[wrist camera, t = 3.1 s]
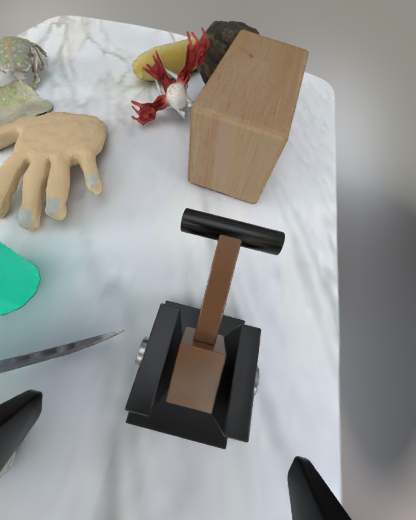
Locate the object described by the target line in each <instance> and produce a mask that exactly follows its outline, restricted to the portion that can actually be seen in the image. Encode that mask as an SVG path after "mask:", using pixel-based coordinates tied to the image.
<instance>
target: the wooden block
mask: <svg viewBox="0 0 416 520" xmlns="http://www.w3.org/2000/svg"><path fill="white" fill-rule="evenodd" d="M308 53H309V52H308V51H307V50H305V49H302V48H299V47H296V46H293V45H290V44H286V43H283V42H280V41H277V40H273V39H271V38H268V37H264V36H261V35H258V34H255V33H252V32H249V31H246V30H240V32H239V33H238V35H237V36H236V38H235V40H234V41H233V43H232V44H231V46H230V47H229V49H228V50H227V52H226V54H225V55H224V57H223V58H222V60H221V61H220V63H219V65H218V66H217V68H216V69H215V71H214V72H213V74H212V75H211V77H210V79H209V80H208V82H207V83H206V85H205V86H204V88H203V89H202V91H201V93H200V94H199V96H198V97H197V99H196V100H195V102H194V104H193V105H192V107H191V125H190V146H189V167H188V181H189V182H191V183H194V184H197V185H200V186H203V187H205V188H208V189H211V190H214V191H217V192H220V193H223V194H226V195H229V196H232V197H235V198H238V199H241V200H244V201H247V202H250V203H252V204H255V203H256V202H257V201H258V199H259V197H260V195H261V193H262V191H263V189H264V187H265V185H266V183H267V181H268V179H269V177H270V174H271V172H272V170H273V168H274V166H275V164H276V162H277V160H278V158H279V156H280V154H281V152H282V150H283V148H284V146H285V144H286V142H287V140H288V136H289V132H290V128H291V124H292V120H293V116H294V112H295V108H296V104H297V100H298V95H299V91H300V87H301V83H302V79H303V75H304V71H305V67H306V63H307V59H308Z"/></svg>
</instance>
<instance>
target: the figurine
mask: <svg viewBox="0 0 416 520" xmlns="http://www.w3.org/2000/svg"><path fill="white" fill-rule="evenodd" d="M202 31H203V40H202V41H201V42H200V41H199V40H198V38H197V37H196V36H195V35H194V33H193V32H192V35H193V37H194V38H195V40H196V43H195V45H194V46H193V45H192V41H191V38H190V35H189V33H188V31H187V37H188V42H189V44H188V45H187V52H186V60H185V66H184V67H183V68H182V69H181V70H180V71H179V73H178V75H176V74H174V73H173V72H171V71H169V70H167V69H165V68H164V66H163V63H162V61H161V59H160V57H159V54H158V52H157V50H155V52H156V57H157V59H156V58H155V56H154V55H153V56H152V57H153V60H154V65H153V66H150V65H149V64H146V65H147V67H148V68H149V69H150V70H149V69H147V68H144V67H142V68H143V69H144V70H145V71H146V72H147V73H148V74H149V75H151V76H152V77H153V78H155V81H156V84H157V87H158V91H159V94H160V96H158V97H157V98H156V100H155V101H154V103H146V104H140V103H138V102H135V101H131V102H132V103H133V104H135V105H137V106H139V107H140V110H139V111H137V110H136V109H135V108H134V107H133V106H132V108H133V109H134V110H135V111H136V112H137V114H138V115H140V116H139V117H138V118H135V117H134V116H132V118H133V119H136V120H137V121H138V122H139V123H140V124H142V125H144V124H145V123H146V122H148V121H151V120H154V119H155V116H156V112H157V111H158V110H163V109H164V108H168V109H169V108H171V107H173V108H174V109H175V110H177V112H178V114H179V113H180V114H181V116H182V117H183V118H184V119H185V117H184V115H186V113H185V111H184V110H183V111H181V109H182V108H183V107H184V106H185V105H186V103H187V102H188V103H189V105H188V107H192V105H193V104H192V103H191V102H193V101H192V100H191V99H190V98H189V97H188V95H187V92H186V90H187V87H188V85H187V83H188V81H189V78H190V74H191V71H192V70H193V68H194V67H195V66H196V67H197V66H201V65H203V64H204V63H205V59H206V55H207V51H208V49H209V46H210V42H209V40H208V39H207V37H206V35H205V32H204V30H203V28H202ZM206 39H207V43H206ZM167 73H169V74H170V75H171V76H172V77H173V78H175V79H176V83H175V82H174V81H173V80H172V79H170V78H169V77H168V75H167ZM158 82H159V83H160V84H161V85H162V86H163V88H164V90H165V93H166V94H165V95H163V94H162V91H161V89H160V86H159V83H158ZM171 83H172V84H171ZM193 103H194V102H193ZM180 114H179V116H180ZM180 118H181V117H180ZM181 120H182V119H181ZM140 121H141V122H140ZM182 123H183V122H182Z"/></svg>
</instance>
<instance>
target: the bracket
mask: <svg viewBox="0 0 416 520" xmlns="http://www.w3.org/2000/svg"><path fill="white" fill-rule="evenodd" d="M200 310H201V309H197V308H193V307H189V306H186V305H182V304H178V303H174V302H170V301H166V302H165V304H163V303H161V304H160V307H159V310H158V313H157V316H156V319H155V322H154V325H153V328H152V331H151V334H150V337H145V338H144V339H143V341H142V342H141V345H140V347H139V350H138V353H137V356H136V362H135V364H136V366H139V369H138V372H137V375H136V378H135V381H134V383H133V386H132V389H131V392H130V395H129V398H128V401H127V404H126V407H125V410H126V411H129V414H128V417H127V420H126V423H128V424H132V425H136V426H140V427H143V428H147V429H151V430H155V431H158V432H162V433H166V434H170V435H173V436H177V437H181V438H184V439H188V440H192V441H196V442H199V443H203V444H207V445H211V446H214V447H218V448H222V449H226V444H227V437H228V438H231V439H235V440H239V441H243V442H248V441H249V433H250V424H251V415H252V406H253V397H254V395H255V394H256V392H257V389H258V384H259V369H258V366H257V362H258V353H259V344H260V335H261V329H260V328H256V327H252V326H248V325H244V323H245V321H244V320H240V319H236V318H232V317H228V316H224V315H223V316H222V320H221V324H220V328H219V332H218V335H222V336H224V341H225V348H226V355H227V357H226V360H225V364H224V368H223V372H222V376H221V380H220V384H219V388H218V392H217V396H216V399H215V403H214V407H213V411H212V413H211V414H210V413H207V412H203V411H199V410H195V409H191V408H188V407H184V406H180V405H176V404H173V403H169V402H166V396H167V392H168V388H169V384H170V381H171V377H172V373H173V369H174V365H175V361H176V357H177V353H178V349H179V345H180V342H181V339H182V337H183V334H184V331H185V329H186V327H191V328H195V329H196V326H197V322H198V318H199V314H200Z"/></svg>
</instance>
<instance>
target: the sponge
mask: <svg viewBox="0 0 416 520" xmlns="http://www.w3.org/2000/svg"><path fill="white" fill-rule="evenodd" d="M24 98H25V99H24ZM3 99H4V100H3ZM51 108H53V106H52V104H51V103H50V102H48V101H46V100H43V99H41V98H40V97H39V95H38V94H37V93H36V92H35V91H34V90H33V89H32V88H31V87H30V86H29V85H27V84H26V83H25V82H23V81H13V82H11V83H10V84H7V85H5V86H2V87H0V126H2V125H6V124H9V123H13V122H16V121H17V120H18V119H20V118H27V117H34V116H36V115H38V114H42V113H44V112H47V113H48V112H50V110H51Z"/></svg>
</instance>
